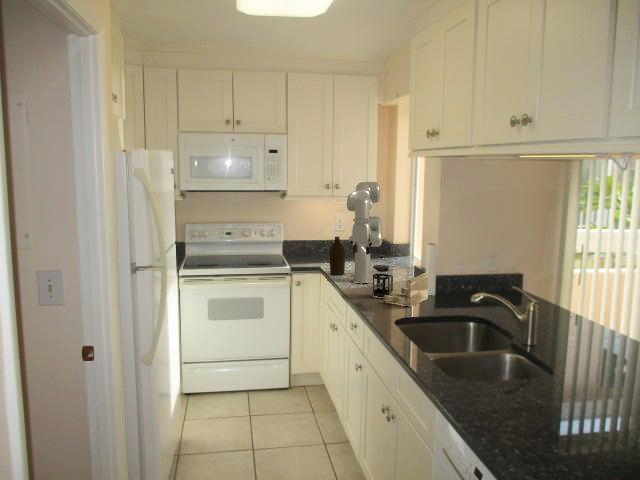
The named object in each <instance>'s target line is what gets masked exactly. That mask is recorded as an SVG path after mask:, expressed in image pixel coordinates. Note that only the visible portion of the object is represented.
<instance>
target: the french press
mask: <svg viewBox="0 0 640 480" xmlns="http://www.w3.org/2000/svg"><path fill="white" fill-rule="evenodd" d="M377 257H379V258H380V264H376V265H375V264H374V265H373V266H372V267H373V269H374V270H376V271H377V272H378V273H375V274H372V280H373V282H372V296H373V295H374V296H378V297H384V295H388V296H390V292H393V289H394V287H393V286H394V282H393V281H394V277H393V275H392V274H388V273H386V272H389V271H390V269H389V268H391V267H390V265H386V264H382V263H383V262H382V260H383V258H384V257H386V255H384V254H378V255H377ZM390 278H391V279H390ZM375 280H376V283H375ZM386 280H387V283H386ZM375 288H376V289H375ZM386 288H387V289H386Z"/></svg>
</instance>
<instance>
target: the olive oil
mask: <svg viewBox="0 0 640 480" xmlns="http://www.w3.org/2000/svg"><path fill="white" fill-rule="evenodd" d="M340 238H341V237H340V236H334V243H332V245H331V246H330V247H329V253H328V255H329V272H330V273H329V274H330V275H331V276H335V275H339V276H343V274H344V275H345V266H346V248H345V247H344V245H343V244H342V243H341V242H340V241H341V239H340Z"/></svg>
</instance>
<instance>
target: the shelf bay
mask: <svg viewBox="0 0 640 480" xmlns="http://www.w3.org/2000/svg"><path fill="white" fill-rule="evenodd" d="M401 293H402V294H406V295H408V296H407V298H405V297H400V296H398V297H397V296H394V295H393V296H392V295H389V296H388V295H384V299H383V302H384V301H388V302H393V303H398V304H403V305H408V306H412V305H414V304H417V303H419V302H420V303H422V302H424V301H426V300H428V298H429V272H424V273H421V274H419V275H417V276H415V277H412V278H410V279H408V280H407V287H401V288H400V294H401ZM420 303H419V304H420ZM417 305H418V304H417Z"/></svg>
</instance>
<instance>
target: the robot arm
mask: <svg viewBox="0 0 640 480" xmlns="http://www.w3.org/2000/svg"><path fill="white" fill-rule="evenodd" d="M380 200H381V186H380V183H378V182H376V181H361V182H358V184H357V185H356V186H355V190H354V191H352V192H350V193H349V194H348V196H347V199H346V208H347V210H348V211H349V212H354V218H353V219H352V221H353V222H354V223H353V224H352V231H351V235H350V236H349V237H348V240H349V242H350V243H351V245H352V251H353V254H354V273H350V275H349V277H350V278H352V280H351V282H352V281H353V282H358V283H367V282H372V281H373V278H371V247H373V248H374V247H380V246H381V245H382V243H383V221H382V218H381V217H380V216H373V215H371V214H370V213H371V209H372V208H373V204H378V203H379V202H380ZM370 215H371V216H370ZM353 282H352V283H353ZM372 283H373V282H372Z"/></svg>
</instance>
